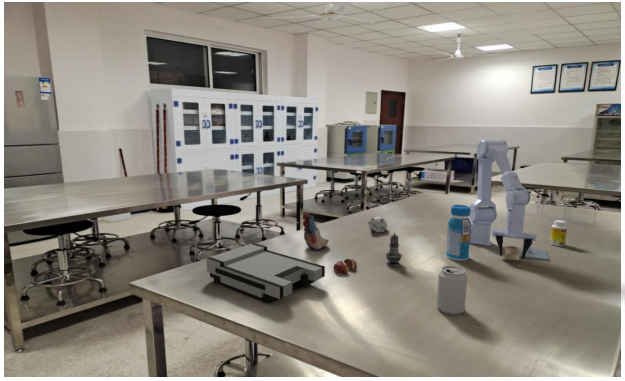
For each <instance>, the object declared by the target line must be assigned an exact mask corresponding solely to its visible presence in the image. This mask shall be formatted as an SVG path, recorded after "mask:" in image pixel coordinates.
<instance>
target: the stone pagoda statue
mask: <svg viewBox="0 0 625 381" xmlns="http://www.w3.org/2000/svg"><path fill="white" fill-rule="evenodd" d="M389 240H390V241H389V242H390V243H389V244H388V246H389V250H388V251H389V252H387V253H385V257H386V260H387V262H386V263H385V265H386V266H388V267H392V268H397V267H401V262H400V260H401V259H402V257H403V255H402V254H401V253H399V247H400V244H399V236H398V235H397V234H396V232H393V234H392V235H391V236H390V239H389Z"/></svg>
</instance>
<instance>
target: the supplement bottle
mask: <svg viewBox="0 0 625 381" xmlns="http://www.w3.org/2000/svg"><path fill="white" fill-rule="evenodd" d="M566 223H567V222H566V221H565V220H561V219H560V220H559V219H557V220H556V219H555V220H554V223H553V224H552V225H551V231H550V238H549V243H550V245H552V246H555V247H564V246H565V245H566V241H567V240H566V239H567V232H568V227H567V225H566Z"/></svg>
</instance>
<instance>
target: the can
mask: <svg viewBox="0 0 625 381" xmlns="http://www.w3.org/2000/svg"><path fill="white" fill-rule="evenodd" d="M467 283H468V274H466V270H465V269H464V268H463V267H459V266H458V265H457V266H456V265H445V266H441V270H440V271H438V280H437V293H436V294H437V296H436V307H437V308H438V309H439V311H441V313H444V314H447V315H451V316H452V315H453V316H456V315H461V314H462V313H463V312H464V311H465V310H466V302H467V298H466V297H467V286H468V284H467Z"/></svg>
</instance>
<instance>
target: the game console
mask: <svg viewBox="0 0 625 381" xmlns="http://www.w3.org/2000/svg"><path fill="white" fill-rule="evenodd" d="M205 260H206V272H207V273H209V277H210V278H212V279H213V283H214V284H216V285H219V286H221V287H224V288H226V289H229V290H230V291H231V290H232V291H234V292H236V293H239V294H242V295H244V296H246V297H250V298H252V299H255V300H257V301H259V302H262V303H264V304H267V305H271V304H273V303H276V302H278V301H280V300H282V299H284V298H286V297H288V296H289V295H291V294H292V293H293V288H294V289H295V290H296V289H297V290H300V289H302V288H307V287H308V286H309V285H311V284H313V283H315V282H317V281H319V280H321V279H323V278H324V277H325V276H326V266H325V265H322V264H318V263H314V262H311V261H308V260H304V259H301V258H297V257H293V256H291V255H290V256H289V255H287V254H283V253H279V252H275V251H272V250H269V249H268V246H267V245H262V244H259V243H255V242H252V243H249V244H246V245H243V246H240V247H237V248H234V249H231V250H227V251H225V252H221V253H218V254H216V255H212V256H210V257H207V258H205Z"/></svg>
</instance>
